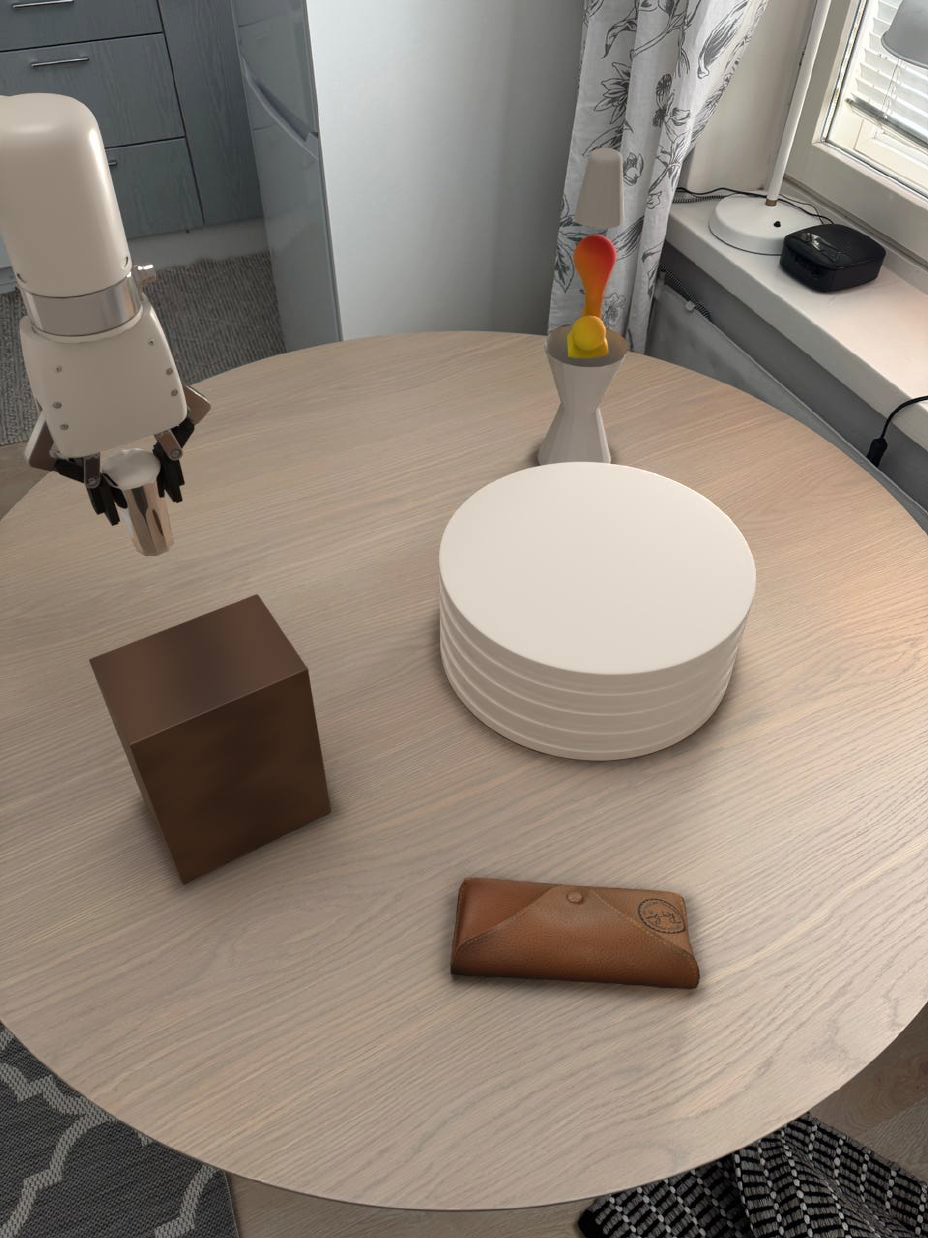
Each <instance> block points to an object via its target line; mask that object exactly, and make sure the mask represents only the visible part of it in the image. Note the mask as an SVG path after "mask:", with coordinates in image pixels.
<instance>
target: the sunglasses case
mask: <svg viewBox="0 0 928 1238" xmlns="http://www.w3.org/2000/svg"><path fill="white" fill-rule="evenodd" d="M457 896H458V897H457V906H456V918H455V925H454V931H453V937H452V944H451V955H450V962H449V966H450V969H449V970H450V975H452V976H458V977H469V978H471V977H472V978H493V979H494V978H495V979H496V978H498V979H500V978H501V979H517V980H539V981H540V980H541V981H543V980H544V981H558V982H560V981H561V982H573V983H590V984H591V983H592V984H607V985H623V986H637V987H648V988H649V987H650V988H659V989H672V990H673V989H674V990H675V989H677V990H695V989H697V988H698V987H699V984H700V978H701V974H700V968H699V964H698V962H697V961H696V957H695V953H694V950H693V946H692V944H691V940H690V935H689V933H690V932H689V926H688V917H687V908H686V907H687V906H686V903H685V899H684V897H683V896H682V895H681V894H679V893H675V892H672V891H671V892H670V891H666V890H665V891H664V890H655V889H643V888H642V889H641V888H624V887H607V886H591V885H576V884H575V885H574V884H562V883H550V882H549V883H548V882H537V881H536V882H534V881H525V880H524V881H523V880H512V879H500V878H491V877H480V876H479V877H465V878H464V879H463V881H462V882H461V884H460V886H459V889H458V895H457Z"/></svg>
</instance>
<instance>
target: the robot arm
mask: <svg viewBox="0 0 928 1238" xmlns="http://www.w3.org/2000/svg"><path fill="white" fill-rule="evenodd" d="M0 234H1V237H2V240H3V243H4V246H5V249H6V252H7V255H8V258H9V261H10V265H11V267H12V270H13V273H14V277H15V280H16V282H17V285H18V288H19V291H20V294H21V297H22V300H23V304H24V306H25V309H26V312H27V315H25V316H23V317H22V318H21V319H20V321H19V324H18V325H19V338H20V344H21V345H20V346H21V351H22V357H23V361H24V367H25V370H26V375H27V378H28V382H29V385H30V389H31V393H32V397H33V400H34V403H35V407H36V410H37V413H38V418H37V420H36V422H35V425H34V426H33V429H32V431H31V434H30V436H29V439H28V441H27V444H26V446H25V448H24V450H23V454H22V455H23V457H24V460H25V461H26V463H27V465H28V466H29V467H30V468H33V469H37V470H42V471H46V472H51V473H52V472H54V473H58V474H59V475H60V476H62V477H65V478H67V479H69V480H70V479H71V480H74V481H76V482H78V483H80V484H84V486H85V489H86V492H87V496H88V499H89V501H90V504H91V506H92V509H93V510H94V512H95V514H96V515H97V516H99V515H102V514H104V515H105V517H106V518H107V520H108V522H109V523H110V525H111V526H112V527H114V526H117V525H119V523H120V522H121V519H120V514H119V511H118V508H117V506H116V504H115V502H114V499H113V495H112V492H111V489H110V486H109V484H108V483H107V481H106V479H105V478H104V476H103V475H102V471H101V453H102V452H105V451H108V450H111V449H115V448H117V447H120V446H124V445H127V444H129V443H132V442H136V441H139V440H142V439H145V438H149V437H151V436H153V437H154V439H155V440H156V442H155V444H153V445H152V446H153V447H152V449H151V451H152V452H151V453H153V454H154V455H155V456H156V457H157V458H158V459H159V461H160V464H161V471H162V477H163V484H164V490H165V493H166V494H167V496H168V497H169V498H170V500H171V501H172V502H173V503H176V504H179V503H181V502H183V501H184V500H183V496H182V491H181V487H182V486H184V485H185V484H186V482H185V478H184V473H183V470H182V469H183V468H182V464H181V460H180V459H182V457H183V456H184V451H183V448H184V447H185V445H187V442H188V441H189V440H190V437H191V436H192V435H193V434H194V432H195V427H196V426H197V425H199V424H200V422H201V421H202V420H203V419H204V418H205V417H206V415H207V414H208V413H209V412H210V411H211V410H212V404H211V402H210V401H209V400H208V399H207V397H206V396H205V395H204V394H202V393H201V392H200V391H198V390H197V389H196V388H194V387H193V386H192V385H190V384H189V383H187V382H186V381H184V379H182V378H181V377H180V376H179V372H178V368H177V366H176V364H175V359H174V357H173V354H172V352H171V348H170V345H169V343H168V340H167V337H166V335H165V333H164V329H163V327H162V325H161V322H160V320H159V318H158V315H157V314H156V311H155V309H154V307H153V305H152V304H151V301H150V300H149V298H148V296H147V295H146V294H145V293H144V287H147V286H148V285H149V283H153V282H157V280H158V277H157V272H156V269H155V267H154V265H153V263H152V262H151V261H149V262H143V263H141V262H135V261H134V260H133V259H132V257H131V252H130V249H129V245H128V240H127V236H126V232H125V228H124V225H123V220H122V216H121V212H120V207H119V203H118V200H117V195H116V190H115V187H114V183H113V179H112V174H111V171H110V167H109V161H108V157H107V154H106V149H105V145H104V141H103V137H102V134H101V130H100V127H99V123H98V121H97V119H96V117H95V115H94V114H93V113H92V111H91V110H90V109H89V108H88V107H87V106H86V104H84V103H83V102H81V101H79V100H78V99H76V98H74V97H72V96H68V95H64V94H58V93H53V92H52V93H50V92H31V93H30V92H29V93H21V94H15V95H10V96H7V95H1V94H0ZM54 444H55V446H56V448H57V451H54V450H53V449H52V447H53V445H54Z"/></svg>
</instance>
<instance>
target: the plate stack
mask: <svg viewBox="0 0 928 1238" xmlns="http://www.w3.org/2000/svg"><path fill="white" fill-rule="evenodd" d="M438 575H439V577H438V583H439V584H438V585H439V587H438V588H439V632H440V633H439V643H440V644H439V647H440V649H439V650H440V657H441V663H442V667H443V670H444V673H445V676H446V677H447V680H448V682H449V684H450V686H451V688H452V690H453V691H454V693H455V694H456V696H457V697H458V699H459V700H460V701H461V702H462V704H463V705H464V706H465V707H466V708H467V709H468V711H469V712H470V713H472V715H473V716H475V717H476V718H477V719H478V720H479V721H480V722H482V723H483V724H485V725H486V726H487V727H488V728H490V729H491V730H492V731H495V732H496V733H497V734H500V735H501V736H502V737H504V738H506V739H507V740H509V741H511V742H514V743H516V744H518V745H520V746H523V747H524V748H528V749H530V750H532V751H533V750H534V751H535V752H540V753H542V754H546V755H549V756H553V757H558V758H565V759H571V760H578V761H592V762H593V761H595V762H596V761H597V762H598V761H599V762H600V761H602V762H603V761H617V760H618V761H619V760H626V759H632V758H638V757H642V756H645V755H649V754H653V753H656V752H659V751H661V750H664V749H666V748H668V747H671V746H674V745H675V744H677V743H679V742H681V741H683V740H684V739H686V738H687V737H689V736H690V735H692V734H693V733H695V732H696V731H697V730H698V729H699V728H701V727H702V726H703V725H705V723H706V722H707V721H708V720H709V719H710V717H712V715H713V714H714V712H715V711H716V710H717V709H718V708H719V706H720V704H721V702H722V701H723V699H724V696H725V694H726V692H727V688H728V686H729V682H730V679H731V675H732V671H733V668H734V666H735V663H736V658H737V655H738V652H739V649H740V646H741V642H742V638H743V634H744V632H745V629H746V625H747V622H748V619H749V614H750V612H751V609H752V606H753V602H754V598H755V594H756V589H757V569H756V564H755V560H754V556H753V553H752V551H751V548H750V546H749V544H748V542H747V540H746V539H745V537H744V535H743V534H742V532H741V531H740V529H739V528H738V527H737V525H736V524H735V523H734V522H733V520H732V519H731V518H730V517H729V516H728V515H727V514H726V513H725V512H724V511H723V510H721V508H719V507H718V506H717V505H715V504H714V503H713V502H712V501H710V500H709V499H708V498H707V497H705V496H703V495H702V494H700V493H699V492H698V491H695V490H694V489H691V487H689V486H686V485H684V484H682V483H680V482H678V481H675V480H674V479H671V478H668V477H666V476H663V475H661V474H658V473H655V472H653V471H649V470H644V469H641V468H637V467H632V466H627V465H621V464H614V463H610V464H608V463H597V462H567V463H556V464H548V465H542V466H541V465H538V466H533V467H529V468H525V469H521V470H518V471H516V472H515V471H514V472H512V473H510V474H507V475H505V476H502V477H500V478H498V479H496V480H493V481H491V482H490V483H488V484H487V485H485V486H483V487H482V488H480V489H479V490H477V491H476V492H474V493H473V494H472V495H470V496H469V497H468V498H467V499H466V500H465V501H464V502H463V503H461V505H460V506H459V507H458V508H457V509H456V511H455V512H454V513H453V515H452V516H451V517H450V519H449V521H448V522H447V524H446V527H445V529H444V531H443V534H442V536H441V540H440V544H439V551H438Z"/></svg>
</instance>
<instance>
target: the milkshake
mask: <svg viewBox="0 0 928 1238" xmlns="http://www.w3.org/2000/svg"><path fill="white" fill-rule="evenodd" d="M101 473H102V475H103V476H104V478H105V479H106V481H107V483H108V484H109V486H110V489H111V492H112V495H113V499H114V502H115V505H116V508H117V511H118V514H119V516H120V517H121V520H122V521H123V524H124V526H125V528H126V531H127V533H128V536H129V537H130V539H131V541H132V542H131V543H132V545H133V546H134V548H135V550H136V552H137V553H139V554H140V555H142V556H144V557H158V556H160V555H163V554H165V553H167V552H169V551H170V549H171V548H172V547H173V546H174V545H175V540H174V534H173V530H172V529H173V528H172V525H171V519H170V516H169V511H168V510H169V509H168V505H167V499H166V491H165V490H164V484H163V477H162V471H161V464H160V461H159V459H158V458H157V457H156V456H155V455H154V454H153V452H151V451H149V450H147V449H142V448H138V447H133V448H128V449H120V450H117V451H116V452H114V453H113V454H112V455H110V456H108V457H107V458H106V459H105V460H104V461H103V463H102V465H101Z"/></svg>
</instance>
